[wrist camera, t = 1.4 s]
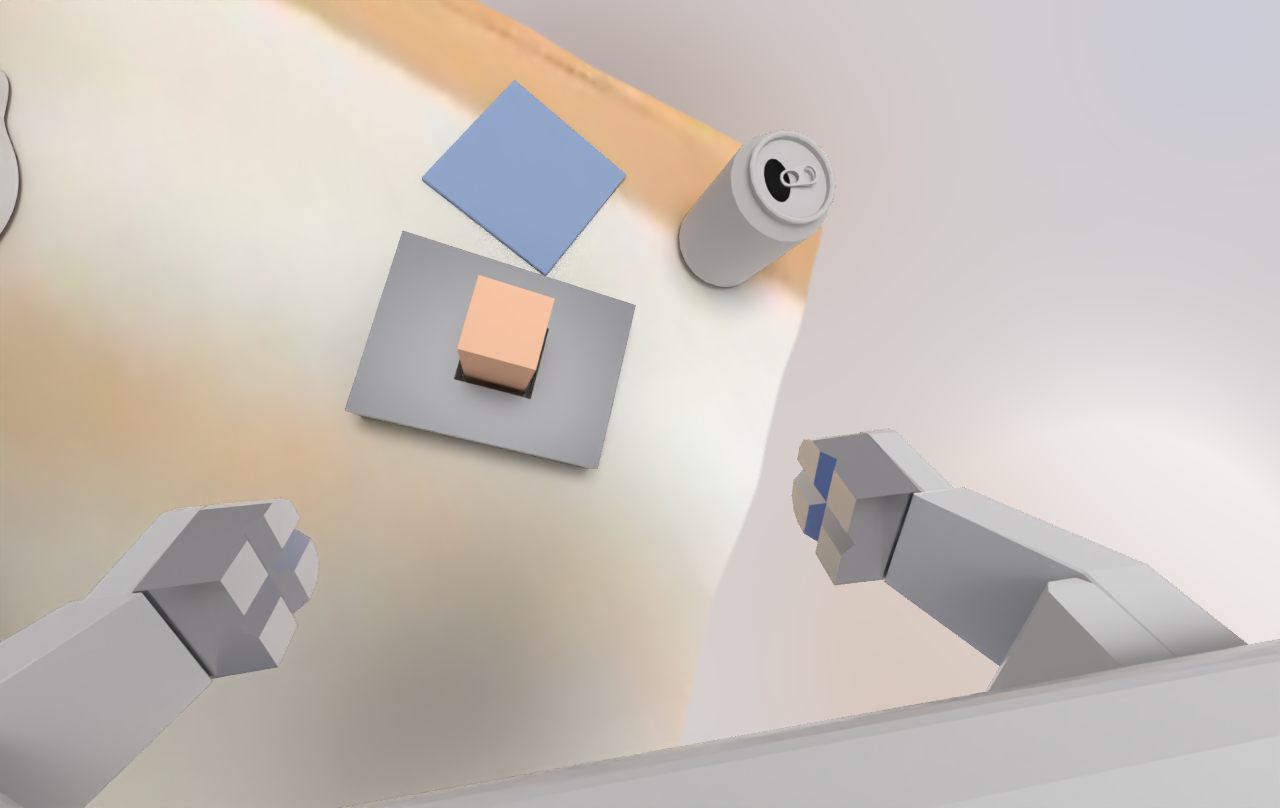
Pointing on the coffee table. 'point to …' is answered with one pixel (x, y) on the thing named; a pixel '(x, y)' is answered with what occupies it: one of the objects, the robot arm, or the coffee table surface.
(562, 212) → the mat
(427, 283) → the grey socket block
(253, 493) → the coffee table surface
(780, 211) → the can
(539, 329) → the plug
